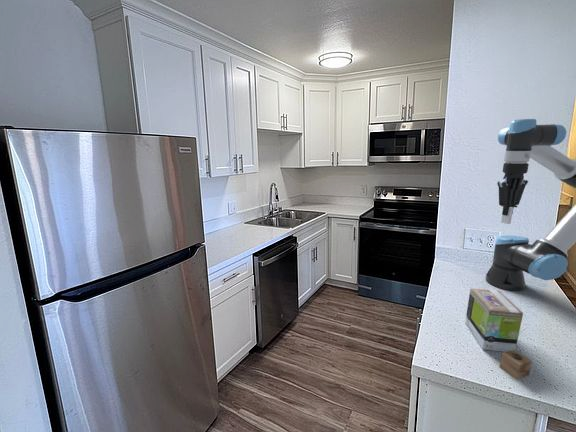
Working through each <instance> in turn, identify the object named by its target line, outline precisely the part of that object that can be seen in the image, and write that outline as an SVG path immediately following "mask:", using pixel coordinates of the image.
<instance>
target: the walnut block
mask: <svg viewBox="0 0 576 432" xmlns="http://www.w3.org/2000/svg"><path fill="white" fill-rule="evenodd" d="M500 357H501V358H500V363H499V368H501V370H503V371H505V372H506V373H507V374H509V376H511V377H513V378H514V379H515V380H519V379H522V378H524V377H527V376H529V375H530V371H531V367H532V364H533V363H532V361H533V360H531V359H530V358H529V357H527V356H525V355H524V354H522V353H521V352H519V351H517V350H516V349H514V350H511V351H508V352H502V353H501V356H500Z"/></svg>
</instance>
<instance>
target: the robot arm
mask: <svg viewBox="0 0 576 432" xmlns="http://www.w3.org/2000/svg"><path fill="white" fill-rule="evenodd" d="M566 137H567V128H566V127H564V126H563V125H561V124H555V123H554V124H553V123H551V124H537V119H536V118H521V119H520V118H519V119H513V120H512V121H511V122H510V125H509V126H506V127H504V128H502V129H501V130H500V131H499V132H498V136H497V141H498V142H499V144H500V145H503V146H506V148H505V153H504V159H503V161H504V163H503V166H502V172H503V173H504V176H503V177H502V180H501V181H500V180H499V181H497V184H496V185H497V187H498V205H499V206H500V207H502V212H501V213H502V214H501V221H500V223H503V224H507V225H510V224H511V222H512V217H513V215H514V214H513V213H514V208H518V206H519V205H520V203H521V200H522V197H523V194H524V191H525V189H526V186H527V185H528V183H529V180H527V179H525V178H524V177H525V176H524V175H525V174H527V173H528V171H529V165H530V164H529V163H528V162H530V159H532V160H533V161H535V162H536V163H538V164H539V165H541V166H542V167H544V168H546V170H549V171H550V172H552V173H553V175H554V177H555V178H556V179H558V180H559V181H561V182H562V183H564V184H566V185H568V186H570V187H571V188H574V189H576V159H574V158H569V157H568V156H567V155H566V154H564V153H562V152H561V151H559V150H557V149H556V148H554V147H553V146H556V145H560V144H561V143H562V142H563V141H565V139H566ZM575 243H576V203H575V204H574V205H573V206H572V207H571V208H570V209H569V210H568V212H567V213H566V214H565V215H564V216H563V217H562V218H561V219H560V220H559V221H558V222H557V223H556V225H555V226H554V227H553V228H552V229H551V230H550V231H549V232H548V233H547V234H546V235H545V237H544V238H539V239H536V240H535V241H534V242H533V243H532V244H530V240H529V238H528V237H525V236H520V235H500V236H498V237H497V238H496V241H495V245H494V252H493V257H492V258H493V259H492V264H491V266H490V268H489V269H488V271H487V272H486V274H485V281H486V282H487V283H488V284H489V285H491V286H493V287H496V288H499V289H503V290H506V291H507V290H508V291H515V292H516V291H523V290H524V289H525V287H526V281H525V275H524V272H525V273H526V274H529V275H530V276H532V277H534V278H538V279H540V280H542V281H543V280H544V281H553V280H555V279H558V278H560V277H562V275H563V274H564V273H565V272H566V271H567V270H568V268H567V267H568V266H569V262H568V258H569V255H568V251H569V250H570V249H571V248H572V247H573V245H575Z"/></svg>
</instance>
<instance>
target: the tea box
mask: <svg viewBox="0 0 576 432" xmlns="http://www.w3.org/2000/svg"><path fill="white" fill-rule="evenodd" d="M467 302H468V303H467V309H466V314H465V320H464V321H465V322H464V323H465V325H466V326H467V328H468V329H469V331H470V332H471V334H472V335H473V337H474V338H475V341H477V343H478V344H479V346H480V347H481V349H482V350H486V351H494V352H502V353H504V352H508V351H511V350H514V349H515V350H516V348H517V345H518V340H519V335H520V330H521V326H522V321H523V317H524V312H523V311H522V310H521V309H520V308H519V307H518V306H517V305H515V304H514V303H513V302H512V301H511V300H510V298H508V297H507V296H506V295H505V294H504V293H502V291H500V290H497V289H496V290H495V289H485V288H483V289H482V288H481V289H480V288H470V289H469V295H468V301H467Z"/></svg>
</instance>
